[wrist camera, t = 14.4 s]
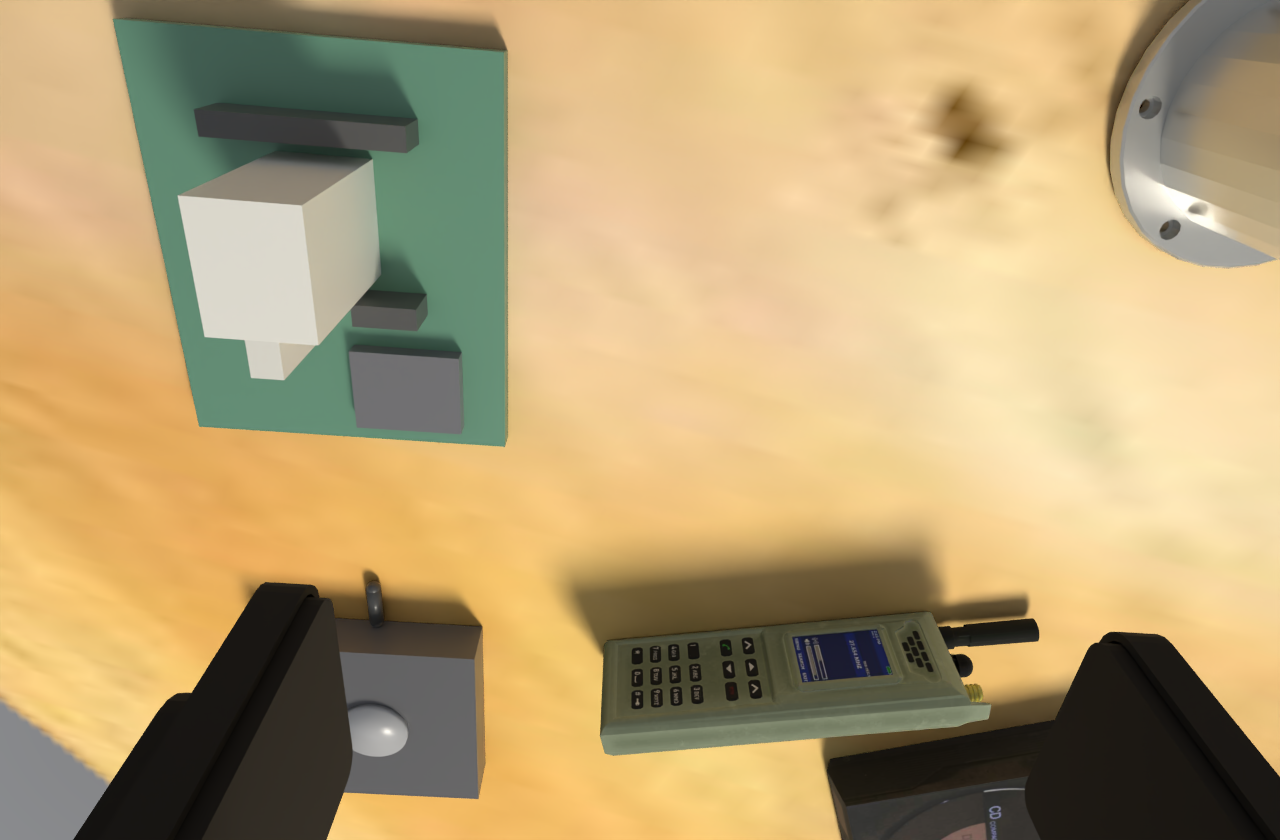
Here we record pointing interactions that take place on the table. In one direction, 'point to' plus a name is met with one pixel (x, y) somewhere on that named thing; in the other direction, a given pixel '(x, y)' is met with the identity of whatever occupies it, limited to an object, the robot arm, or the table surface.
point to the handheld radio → (793, 682)
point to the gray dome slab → (413, 705)
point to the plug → (282, 252)
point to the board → (406, 215)
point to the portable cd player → (940, 788)
